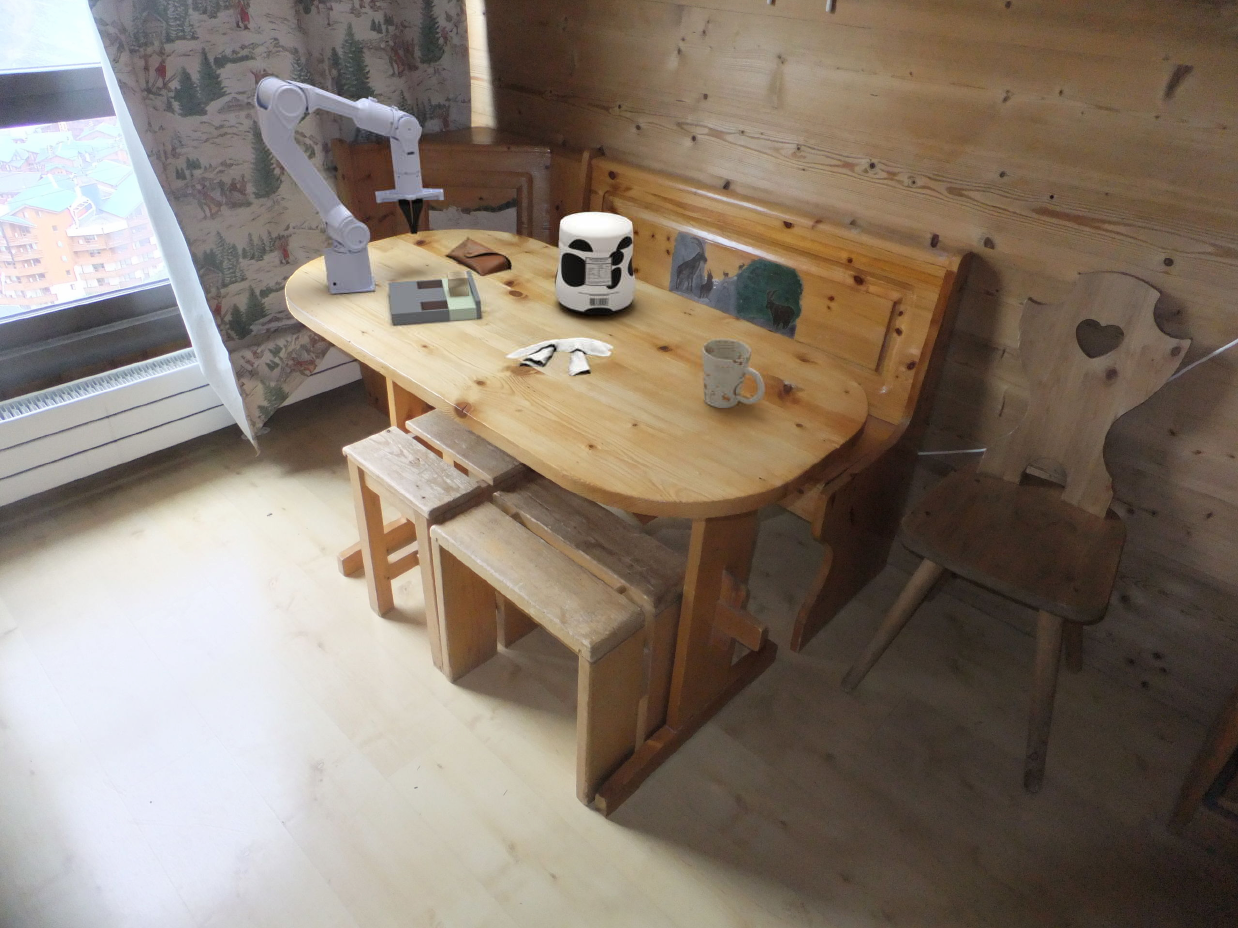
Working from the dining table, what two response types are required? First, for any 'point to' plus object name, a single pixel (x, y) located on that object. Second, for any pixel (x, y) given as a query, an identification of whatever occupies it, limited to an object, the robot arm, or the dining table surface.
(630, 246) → the milk container
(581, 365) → the cloth
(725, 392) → the mug
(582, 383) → the dining table surface
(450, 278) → the beech block
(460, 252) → the sunglasses case
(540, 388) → the dining table surface
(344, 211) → the robot arm
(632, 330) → the dining table surface
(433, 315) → the trap board
